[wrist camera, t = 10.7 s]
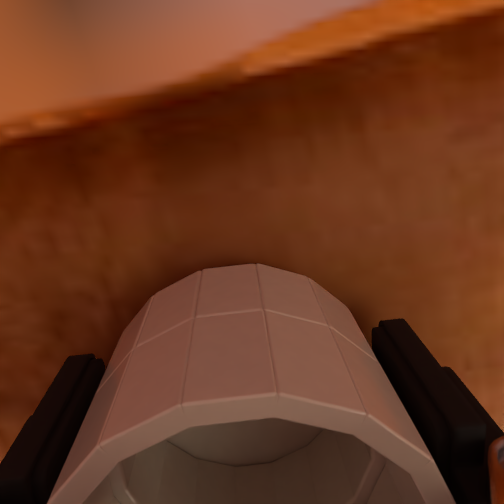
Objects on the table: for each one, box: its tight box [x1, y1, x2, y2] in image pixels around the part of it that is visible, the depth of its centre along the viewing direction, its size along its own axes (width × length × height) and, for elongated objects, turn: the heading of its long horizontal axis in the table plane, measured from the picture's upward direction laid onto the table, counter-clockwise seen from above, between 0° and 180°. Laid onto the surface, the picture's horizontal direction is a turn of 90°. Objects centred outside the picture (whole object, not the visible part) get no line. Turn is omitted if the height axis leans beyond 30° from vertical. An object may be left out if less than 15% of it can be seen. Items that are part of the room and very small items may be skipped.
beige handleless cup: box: [47, 263, 456, 504], centre depth 10 cm, size 6×6×6 cm
